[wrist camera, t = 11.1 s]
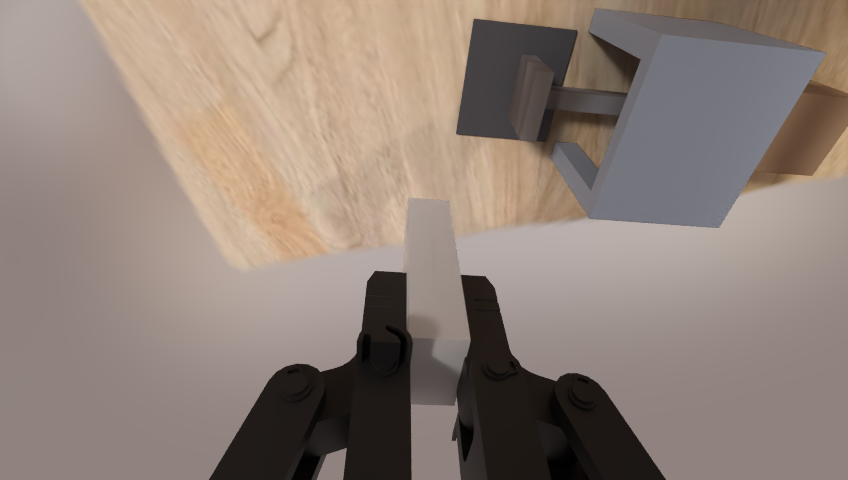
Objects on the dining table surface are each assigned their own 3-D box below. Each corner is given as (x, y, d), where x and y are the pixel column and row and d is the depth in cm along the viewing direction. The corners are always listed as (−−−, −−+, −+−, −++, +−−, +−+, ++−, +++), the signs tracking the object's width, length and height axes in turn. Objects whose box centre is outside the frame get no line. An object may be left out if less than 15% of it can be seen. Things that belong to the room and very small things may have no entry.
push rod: (505, 122, 36) (521, 151, 31) (522, 46, 33) (542, 66, 28) (760, 145, 38) (812, 175, 33) (801, 76, 35) (866, 99, 30)
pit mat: (456, 132, 37) (456, 133, 37) (473, 18, 32) (474, 19, 32) (544, 140, 38) (545, 141, 38) (576, 30, 32) (577, 30, 32)
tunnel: (550, 158, 39) (589, 218, 30) (595, 8, 32) (662, 34, 23) (653, 166, 40) (718, 228, 31) (720, 22, 32) (826, 52, 24)
